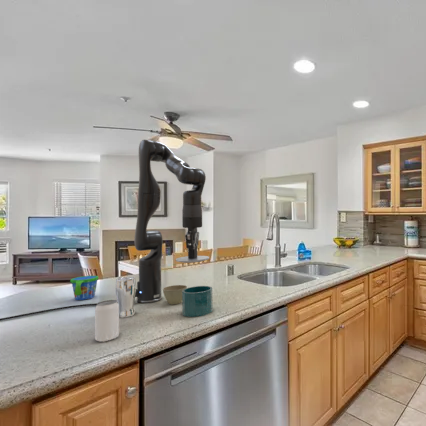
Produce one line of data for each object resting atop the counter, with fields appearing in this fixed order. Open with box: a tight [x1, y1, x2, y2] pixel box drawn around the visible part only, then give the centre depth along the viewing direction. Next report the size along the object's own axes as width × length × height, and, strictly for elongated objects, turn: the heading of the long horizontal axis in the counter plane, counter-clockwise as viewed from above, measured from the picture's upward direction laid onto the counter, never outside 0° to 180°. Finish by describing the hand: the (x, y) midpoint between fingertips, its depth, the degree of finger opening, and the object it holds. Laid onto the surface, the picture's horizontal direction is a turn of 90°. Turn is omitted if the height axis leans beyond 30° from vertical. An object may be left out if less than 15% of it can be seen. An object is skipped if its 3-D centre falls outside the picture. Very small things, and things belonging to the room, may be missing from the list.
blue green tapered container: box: [69, 275, 100, 301], centre depth 144 cm, size 16×10×10 cm
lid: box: [175, 246, 210, 264], centre depth 121 cm, size 13×13×6 cm
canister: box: [181, 285, 214, 318], centre depth 123 cm, size 12×12×10 cm
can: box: [94, 299, 120, 343], centre depth 98 cm, size 6×6×12 cm
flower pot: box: [162, 284, 188, 305], centre depth 135 cm, size 10×10×7 cm
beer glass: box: [115, 276, 137, 319], centre depth 120 cm, size 7×7×15 cm
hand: (192, 257), depth 121 cm, fingers closed on lid, 3 cm apart
